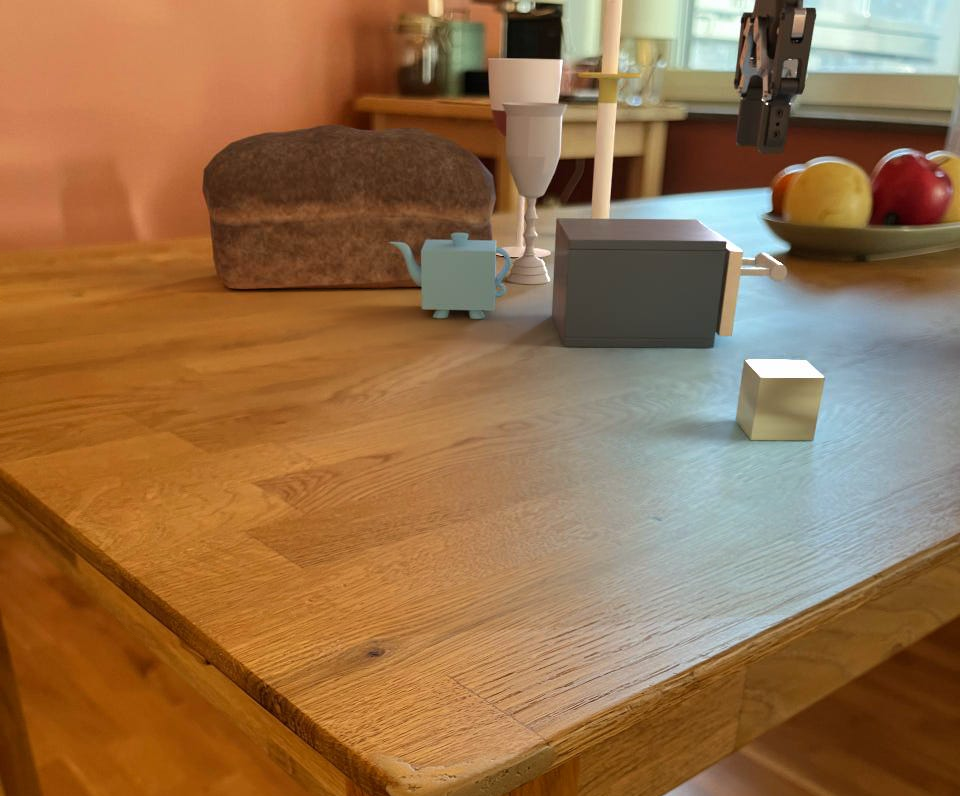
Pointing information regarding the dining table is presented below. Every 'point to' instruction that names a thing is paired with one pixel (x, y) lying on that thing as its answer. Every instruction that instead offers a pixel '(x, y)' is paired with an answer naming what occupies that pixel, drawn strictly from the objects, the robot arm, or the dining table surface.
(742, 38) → the robot arm
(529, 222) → the chalice
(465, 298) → the teapot
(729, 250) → the drawer
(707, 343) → the cabinet
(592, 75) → the candle
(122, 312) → the dining table surface
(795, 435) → the block
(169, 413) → the dining table surface
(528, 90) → the wineglass
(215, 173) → the bread
